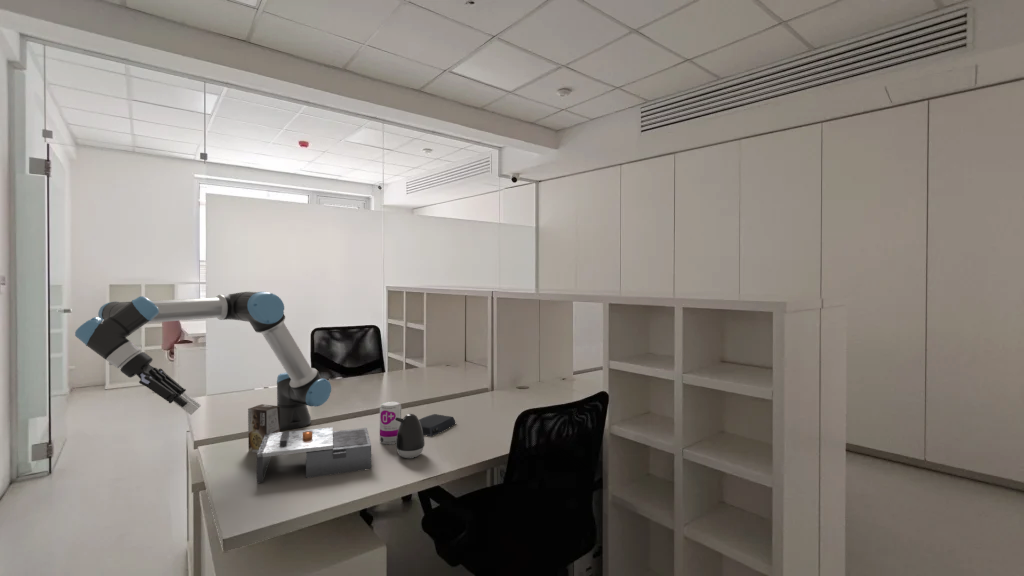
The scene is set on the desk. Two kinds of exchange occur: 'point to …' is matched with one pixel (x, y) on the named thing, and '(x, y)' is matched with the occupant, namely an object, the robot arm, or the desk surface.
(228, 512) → the desk surface
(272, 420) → the coffee box
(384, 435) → the supplement can
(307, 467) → the grey storage box
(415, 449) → the pump dispenser
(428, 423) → the external hard drive
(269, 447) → the lid
